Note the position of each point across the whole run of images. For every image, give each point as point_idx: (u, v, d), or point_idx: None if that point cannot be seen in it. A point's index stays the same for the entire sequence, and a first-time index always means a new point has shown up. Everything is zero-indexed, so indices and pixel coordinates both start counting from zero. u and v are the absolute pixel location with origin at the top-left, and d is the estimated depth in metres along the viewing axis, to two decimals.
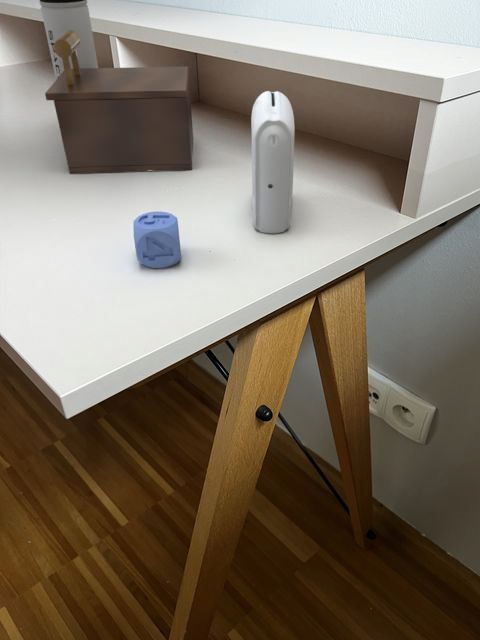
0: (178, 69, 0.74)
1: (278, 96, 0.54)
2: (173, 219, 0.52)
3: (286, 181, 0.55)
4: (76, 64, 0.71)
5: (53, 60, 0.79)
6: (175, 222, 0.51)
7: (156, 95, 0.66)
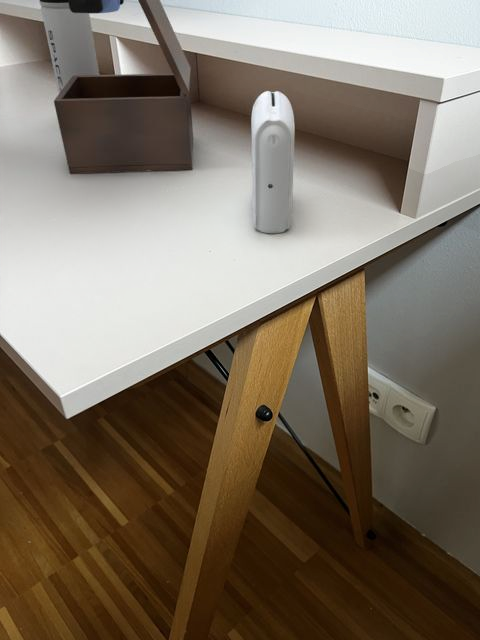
0: (186, 62, 0.74)
1: (278, 96, 0.54)
2: None
3: (286, 181, 0.55)
4: None
5: (53, 60, 0.79)
6: None
7: (171, 64, 0.64)
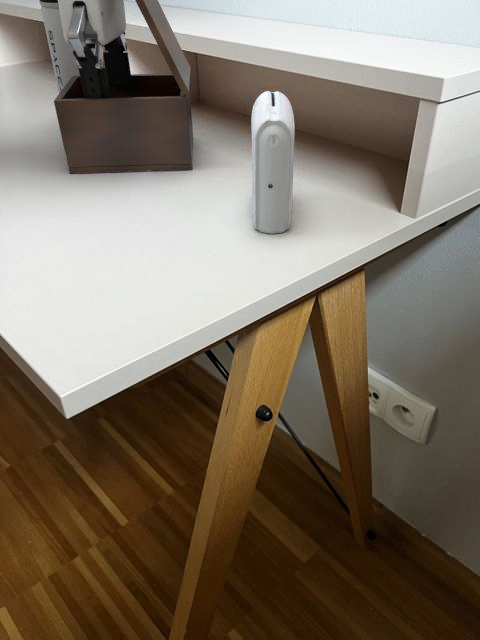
0: (186, 62, 0.74)
1: (278, 96, 0.54)
2: None
3: (286, 181, 0.55)
4: None
5: (53, 60, 0.79)
6: None
7: (170, 64, 0.64)
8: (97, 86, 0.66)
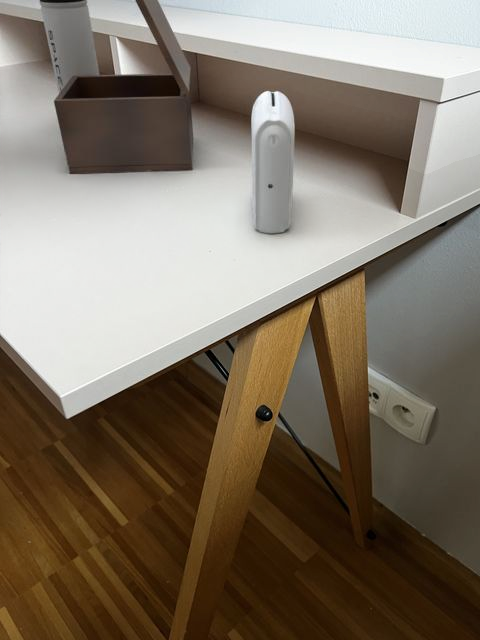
0: (186, 62, 0.74)
1: (278, 96, 0.54)
2: None
3: (286, 181, 0.55)
4: None
5: (53, 60, 0.79)
6: None
7: (170, 64, 0.64)
8: None
